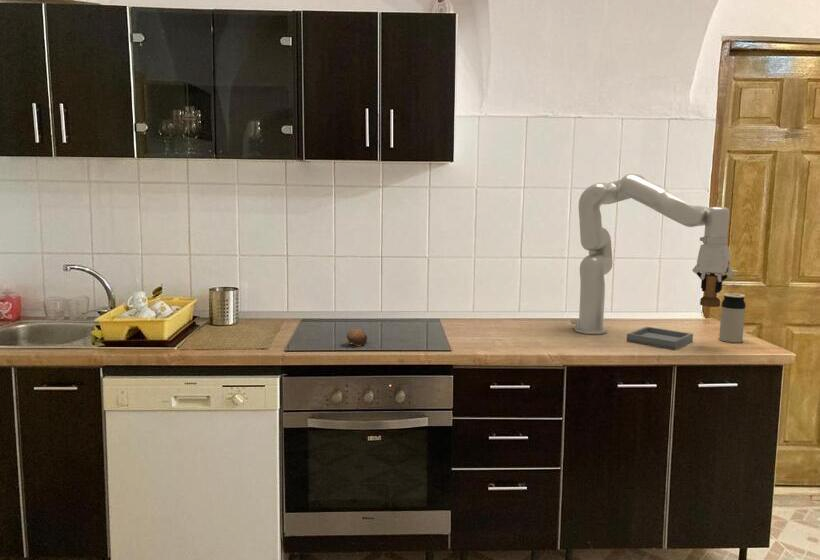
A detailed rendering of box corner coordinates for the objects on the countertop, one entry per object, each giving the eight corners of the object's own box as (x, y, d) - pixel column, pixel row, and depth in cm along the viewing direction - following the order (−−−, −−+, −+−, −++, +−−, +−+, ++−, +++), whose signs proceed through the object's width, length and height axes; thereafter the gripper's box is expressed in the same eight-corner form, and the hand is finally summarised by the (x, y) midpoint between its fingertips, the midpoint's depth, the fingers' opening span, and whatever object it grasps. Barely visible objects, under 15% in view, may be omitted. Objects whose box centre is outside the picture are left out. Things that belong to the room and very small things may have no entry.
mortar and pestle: (717, 307, 218) (721, 257, 216) (698, 305, 222) (702, 256, 220) (721, 305, 224) (725, 256, 221) (702, 303, 228) (706, 255, 225)
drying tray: (626, 341, 233) (627, 333, 232) (646, 333, 246) (646, 326, 245) (674, 350, 221) (675, 341, 220) (692, 341, 233) (693, 333, 233)
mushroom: (342, 334, 228) (349, 322, 225) (360, 340, 232) (368, 328, 229) (343, 348, 222) (351, 336, 219) (362, 354, 225) (370, 343, 222)
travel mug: (728, 343, 231) (732, 296, 228) (714, 338, 238) (718, 293, 236) (747, 342, 232) (751, 296, 230) (732, 337, 240) (736, 292, 237)
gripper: (687, 240, 223) (683, 289, 225) (737, 243, 211) (732, 295, 214) (694, 239, 228) (690, 287, 231) (743, 242, 217) (739, 293, 219)
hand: (711, 291), depth 222 cm, fingers closed on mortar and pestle, 4 cm apart
